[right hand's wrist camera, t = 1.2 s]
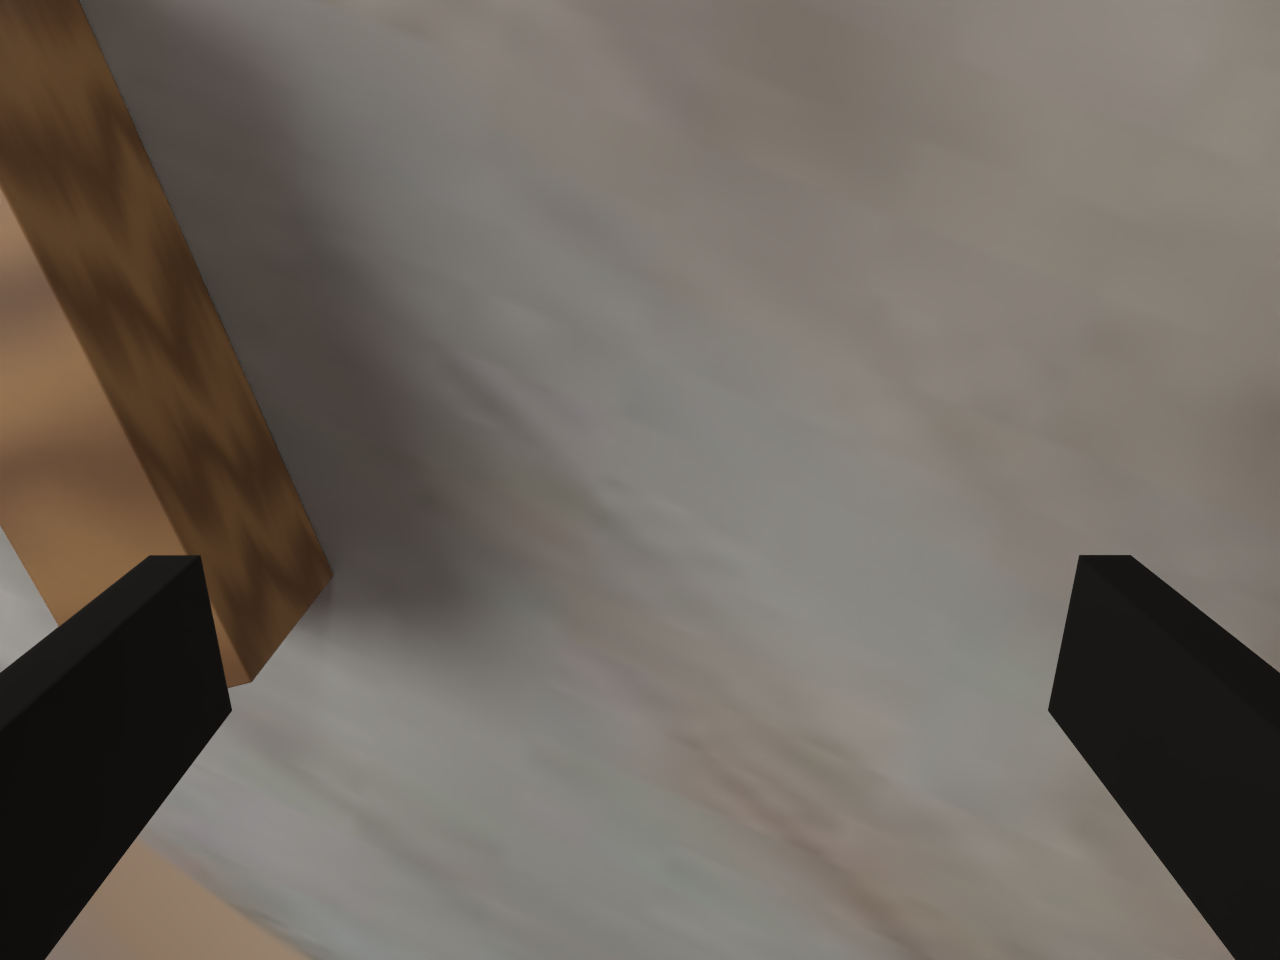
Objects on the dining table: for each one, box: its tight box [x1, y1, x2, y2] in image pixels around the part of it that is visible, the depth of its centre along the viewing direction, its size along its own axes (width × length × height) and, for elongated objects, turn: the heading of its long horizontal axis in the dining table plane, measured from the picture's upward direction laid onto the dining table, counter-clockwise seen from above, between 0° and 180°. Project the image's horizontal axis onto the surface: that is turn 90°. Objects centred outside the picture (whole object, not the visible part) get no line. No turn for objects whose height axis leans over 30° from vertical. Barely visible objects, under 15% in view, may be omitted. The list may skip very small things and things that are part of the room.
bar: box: [0, 0, 333, 688], centre depth 29 cm, size 24×5×8 cm, turn 15°
